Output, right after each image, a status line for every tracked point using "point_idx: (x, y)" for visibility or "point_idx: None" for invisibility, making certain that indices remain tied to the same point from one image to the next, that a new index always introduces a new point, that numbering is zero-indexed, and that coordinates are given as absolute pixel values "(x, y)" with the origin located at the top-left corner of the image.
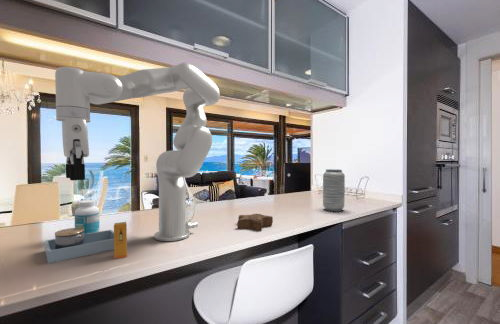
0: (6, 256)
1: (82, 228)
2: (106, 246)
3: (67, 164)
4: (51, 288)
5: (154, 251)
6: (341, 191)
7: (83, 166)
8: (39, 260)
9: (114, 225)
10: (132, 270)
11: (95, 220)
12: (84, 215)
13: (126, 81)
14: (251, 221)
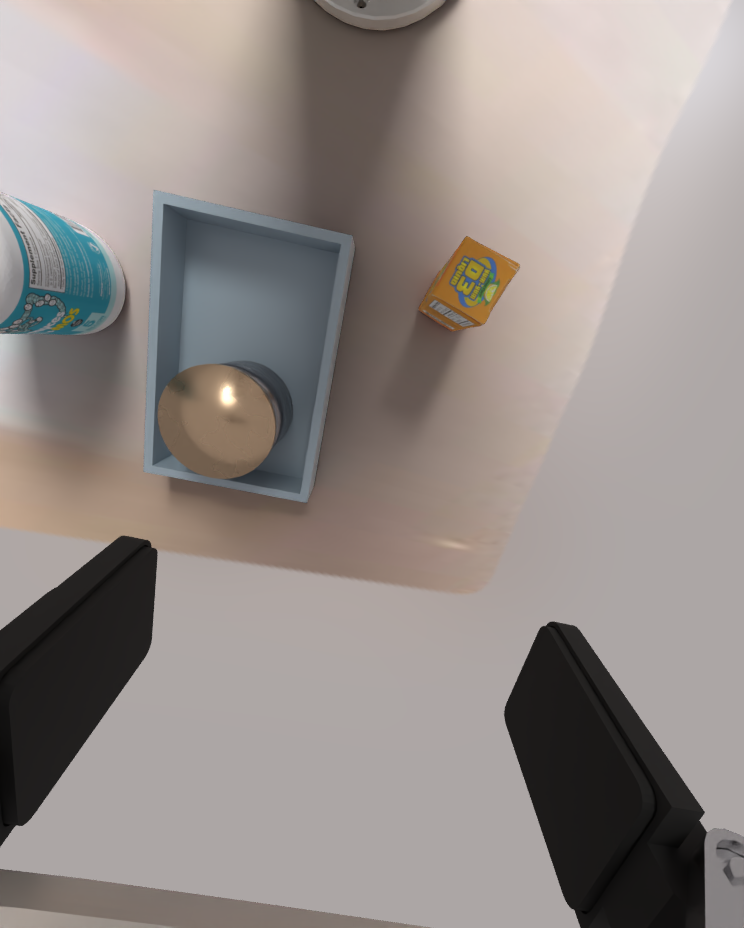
0: None
1: (207, 368)
2: (342, 308)
3: (16, 823)
4: (495, 524)
5: (504, 159)
6: None
7: (668, 784)
8: None
9: (483, 323)
10: (590, 335)
11: (48, 237)
12: (20, 298)
13: None
14: None
